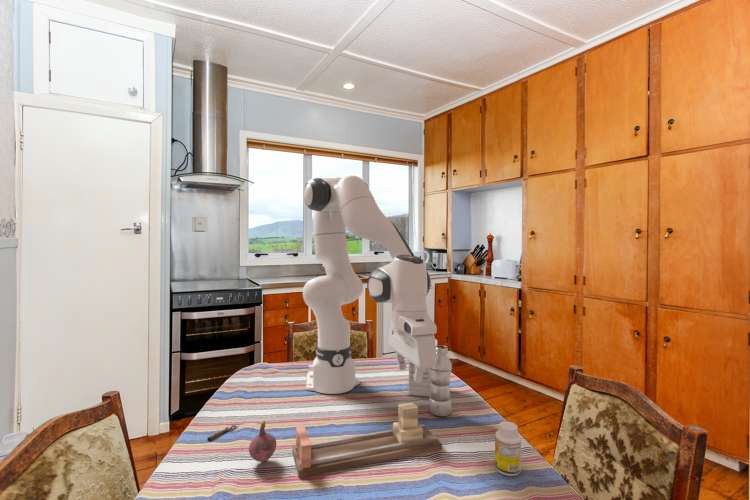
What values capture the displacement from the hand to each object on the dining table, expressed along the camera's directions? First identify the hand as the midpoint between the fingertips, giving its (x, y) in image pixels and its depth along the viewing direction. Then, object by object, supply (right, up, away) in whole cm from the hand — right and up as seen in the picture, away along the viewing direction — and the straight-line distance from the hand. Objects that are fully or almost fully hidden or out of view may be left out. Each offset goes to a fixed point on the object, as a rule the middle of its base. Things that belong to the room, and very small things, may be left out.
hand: (409, 375), depth 96 cm
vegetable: (-34, -18, -8) cm, 40 cm away
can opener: (-49, -17, +5) cm, 52 cm away
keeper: (0, -16, +1) cm, 16 cm away
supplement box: (+8, -17, +34) cm, 39 cm away
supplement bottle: (+21, -19, -9) cm, 30 cm away
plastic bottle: (+11, -17, +17) cm, 27 cm away
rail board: (-10, -18, -3) cm, 21 cm away
